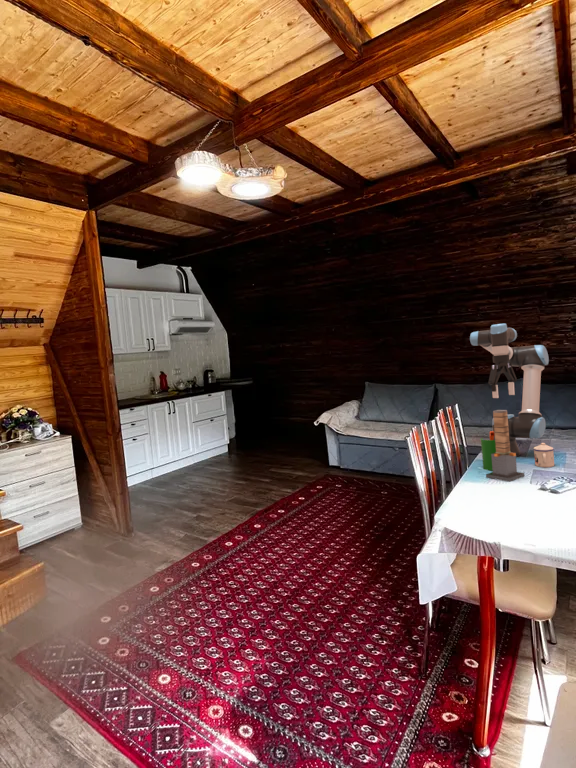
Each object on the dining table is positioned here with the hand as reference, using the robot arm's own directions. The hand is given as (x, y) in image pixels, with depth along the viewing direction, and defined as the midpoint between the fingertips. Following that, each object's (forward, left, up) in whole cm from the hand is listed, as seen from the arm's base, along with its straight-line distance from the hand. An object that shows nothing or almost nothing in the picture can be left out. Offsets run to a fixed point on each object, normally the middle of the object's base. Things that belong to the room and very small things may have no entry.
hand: (503, 396), depth 221 cm
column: (+13, +6, -28) cm, 32 cm away
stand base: (+13, +6, -38) cm, 40 cm away
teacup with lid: (-16, +9, -38) cm, 42 cm away
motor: (+3, -7, -38) cm, 38 cm away
